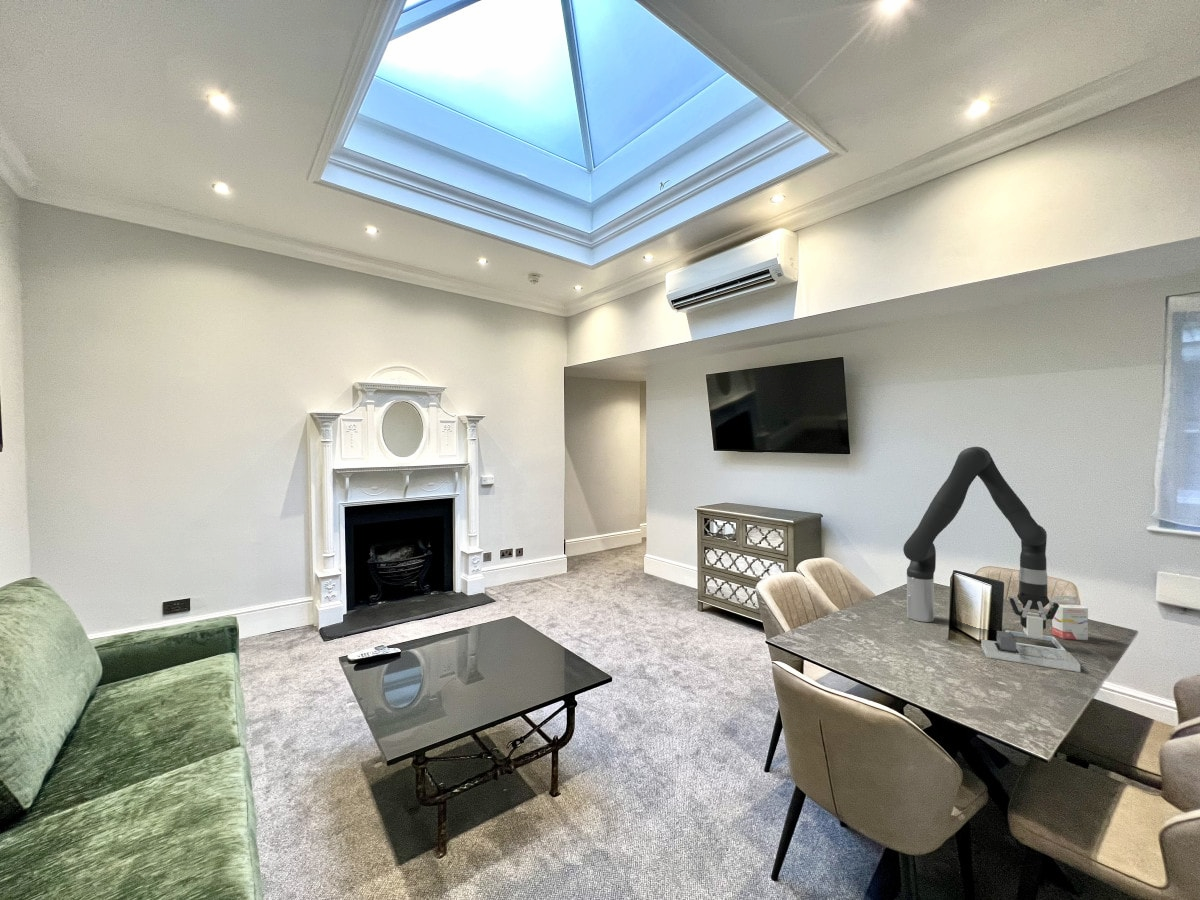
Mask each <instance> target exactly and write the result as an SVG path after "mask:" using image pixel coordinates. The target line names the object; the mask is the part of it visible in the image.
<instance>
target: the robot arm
mask: <svg viewBox="0 0 1200 900" xmlns="http://www.w3.org/2000/svg"><path fill="white" fill-rule="evenodd" d="M977 476H978V478H979V479H980V480H981V482H982V483H983V484H984V486H985V487H986V489H987V491H988V492H989V494H990V497H991V498H992V499H991V500H992V501H993V502H994V504H995V505H996V506H997V508H998V509H999V511H1000V512H1001V514H1002V515H1003V516H1004V517H1005V518H1006V520H1007V521H1008V522H1009V523H1010V525H1011V527H1012V528H1013V530H1014V532H1015V533H1016V535H1017V536H1018V538H1019V539H1020V542H1021V543H1020V544H1021V548H1020V549H1021V551H1020V554H1019V573H1018V594H1017V596H1013V597H1012V596H1008V598H1007V599H1008V601H1009V603H1010V606H1011V609H1012V611H1013V613H1014V614H1015V615H1017V616H1019V617H1020V618H1019V619H1020V623H1019V624H1020V625H1021V627H1022V628H1023V627H1024V628H1026V615H1027V613H1028V612H1029V611H1030V610H1036V611H1037V612H1038V614H1039V615H1040V616H1041V617H1042V618H1043V631H1044V630H1046V629H1047V620H1052V619H1053V618H1054V616H1055V614H1056V612H1057V610H1058V608H1059V605H1058V604H1057V603H1056V602H1053V600H1050V599H1049V598H1048V573H1047V572H1048V571H1047V556H1046V555H1047V554H1046V550H1047V539H1048V534H1047V531H1046V530H1045V528H1044V527H1043V526H1041V525H1040V524H1038V523H1037V521H1036V520H1035V519H1034V518H1033V517H1032V515H1031V512H1030V510H1029V509H1028V508H1027V506H1026V505H1025V503H1023V501H1022V500H1021V498H1019V496H1018V495H1017V493H1016V492H1015V491H1014V490H1013V488H1012V487H1011V486H1010V485H1009V483H1008V482H1007V481H1006V479H1005V478H1004V476H1003V475H1002V474H1001V472H1000V471H999V468H998V467H997V465H996V463H995V461H994V459H993V457H992V455H991V453H990V451H988V450H987V449H985V447H980V446H971V447H968V448H965V449H963V450H962V451H960V452H959V454H958V456H957V458H956V460H955V462H954V465H953V467H952V469H951V471H950V473H949V475H948V477H947V478H946V480H945V481H944V483H943V484H942V485H941V487H940V488H939V489H938V491H937V492H936V494H935V495H934V497H933V498H932V500H931V502H930V503H929V506H928V507H927V510H926V511H925V513H924V514H923V517H922V518H921V520H920V522H919V523H918V525H917V528H916V529H915V530H914V531H913V533H912V534H911V535H910V536H909V537H908V539H907V540H906V541H905V543H904V545H903V554H904V556H905V557H906V559H908V560H909V561H910V562H909V565H908V567H907V569H906V615H907V619H910V620H913V621H918V622H924V623H925V622H926V623H928V622H929V623H930V622H932V623H933V622H934V621H935V587H934V586H935V585H934V584H935V583H934V580H935V579H934V575H935V574H934V573H936V572H935V571H936V566H937V565H936V564H937V563H936V562H937V560H936V559H937V558H936V557H937V556H936V555H937V550H936V546H935V544H934V542H935V539H936V538H937V537H938V536H939V535H940V533H941V532H942V531H943V530H945V528H947V527H948V525H950V524H951V523H952V521H953V520H954V519H955V518H956V516H957V515H958V513H959V512H960V510H961V508H962V507H963V505H964V502H965V499H966V497H967V494H968V490H969V488H970V486H971V484H972V483H973V482H974V481H975V479H976V478H977ZM1018 601H1019V602H1020V603H1021V604H1022V605H1021V610H1019V609H1018V607H1017V604H1018ZM1047 605H1048V606H1049V610H1048V611H1047V613H1046V612H1045V607H1046V606H1047ZM1045 613H1046V614H1045Z"/></svg>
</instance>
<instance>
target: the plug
mask: <svg viewBox="0 0 1200 900" xmlns="http://www.w3.org/2000/svg"><path fill="white" fill-rule="evenodd" d="M1022 628H1023V629H1022V630H1023V633H1026V635H1027V636H1028V637H1035V638H1041V639H1043V635H1044V630H1043V618H1042V617H1041V616H1040V615H1039V612H1038V613H1036V612H1029V611H1028V613H1027V615H1026V628H1024V627H1023V626H1022Z"/></svg>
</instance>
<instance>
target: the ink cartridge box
mask: <svg viewBox="0 0 1200 900" xmlns="http://www.w3.org/2000/svg"><path fill="white" fill-rule="evenodd" d="M1052 598H1053V599H1052V602H1056V603H1057V604H1058V605H1059V608H1058V610H1057V612H1056V614H1055V616H1054V618H1053V619H1051V620H1052V623H1051V624H1052V626H1051V627H1052V628H1051V629H1052V631H1051V632H1052V636H1053V635H1054V636H1055V637H1058V638H1060V639H1063V640H1079V641H1080V640H1083V641H1085V640H1086V641H1088V640H1089V632H1088V631H1089V628H1088V627H1089V608H1088V607H1086V606H1083V605H1080V604H1077V603H1078V602H1077V601H1078V600H1077V599H1078V597H1077V596H1076V595H1054V596H1053V597H1052ZM1065 599H1066V600H1065Z"/></svg>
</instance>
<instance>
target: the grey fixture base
mask: <svg viewBox="0 0 1200 900" xmlns="http://www.w3.org/2000/svg"><path fill="white" fill-rule="evenodd" d="M1016 643H1017V638H1016V636H1014V635H1013V634H1012V633H1011V632H1005V630H1004V631H1002V630H996V640H989V639H981V641H980V644H981V645H980V646H981V649H982V650H984V651H983V653H984V654H985V657H986V658H990V659H996V660H1003V661H1008V662H1012V663H1013V662H1014V663H1020V664H1027V665H1033V666H1039V667H1046V668H1051V669H1058V670H1065V671H1069V672H1070V671H1071V672H1075V673H1076V672H1077V673H1081V664H1080V662H1079V661H1078V660H1077V659H1076V658H1075V657H1074V656H1073V654H1072V653H1071V652H1069V651H1066V652H1064V651H1057V650H1050V649H1044V648H1037V647H1030V646H1023V645H1016Z"/></svg>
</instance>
